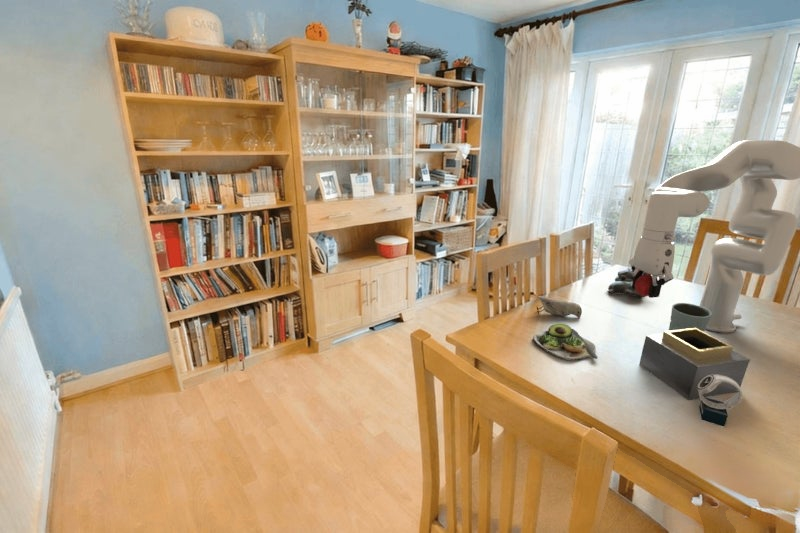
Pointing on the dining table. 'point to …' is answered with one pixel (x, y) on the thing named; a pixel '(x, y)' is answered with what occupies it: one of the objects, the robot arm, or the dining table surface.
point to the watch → (713, 408)
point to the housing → (692, 361)
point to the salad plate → (565, 342)
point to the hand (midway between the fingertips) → (644, 292)
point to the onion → (644, 284)
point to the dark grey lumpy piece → (624, 283)
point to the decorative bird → (560, 307)
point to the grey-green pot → (689, 317)
